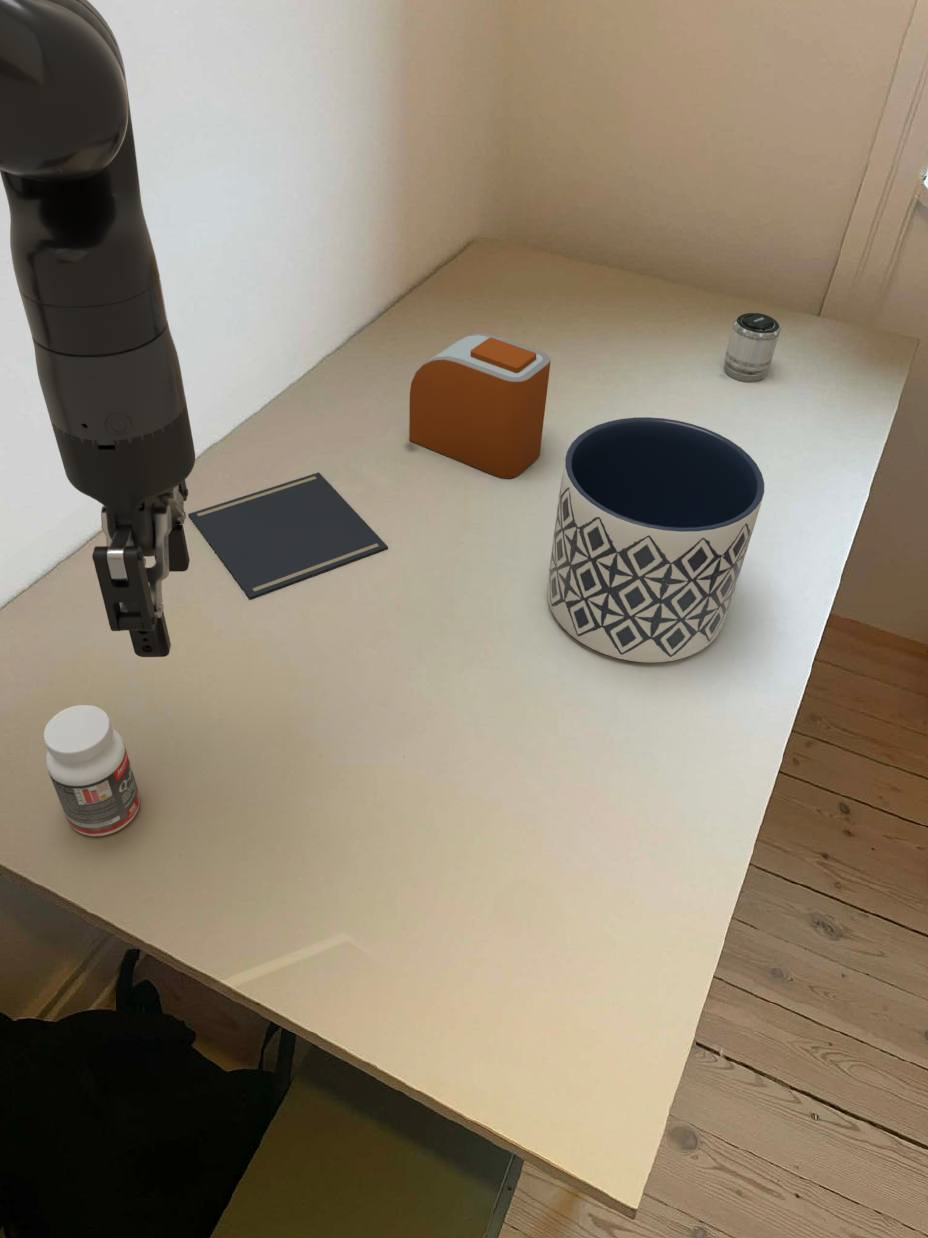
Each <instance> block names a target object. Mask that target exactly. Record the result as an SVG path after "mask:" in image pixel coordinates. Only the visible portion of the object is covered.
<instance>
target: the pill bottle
mask: <svg viewBox="0 0 928 1238" xmlns="http://www.w3.org/2000/svg"><path fill="white" fill-rule="evenodd" d="M43 740H44V743H45V746H46V748H47V751H46V756H45V764H46V769H47V773H48V775H49V778H50V780H51V782H52V785H53V787H54V791H55V793H56V795H57V797H58V800H59V803H60V806H61V807H62V810H63V813H64V815H65V818H66V820H67V822H68V825H70V827H71V828H72V829H73V830H75V832H77V833H80V834H82V835H84V836H90V837H103V836H107V835H108V836H109V835H111V834H114V833H116V832H118V831H120V830H121V829H123V828H124V827H126V826H127V825H129V824H130V822H132V821H133V819H134V818H135V817H136V815H137V813H138V811H139V808H140V804H141V797H140V796H141V795H140V791H139V788H138V784H137V781H136V777H135V775H134V772H133V767H132V765H131V762H130V759H129V755H128V751H127V749H126V745H125V742H124V739H123V738H122V736H121V735H120V734H119V733H118V731H116V730H115V729H114V728H113V725H112V723H111V720H110V718H109V716H108V714H107V712H106V711H104V710H103V709H102V708H100V707H97V706H95V705H91V704H79V705H73V706H70V707H67V708H65V709H63V710H61V711H59V712H58V713H56V714H55V715H54V716H52V717H51V718H50V720H49V721H48V722H47V724H46V725H45V728H44V731H43Z"/></svg>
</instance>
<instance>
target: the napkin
mask: <svg viewBox="0 0 928 1238" xmlns="http://www.w3.org/2000/svg"><path fill="white" fill-rule="evenodd" d="M187 515H188V518H189V519H190V520H191V521H192V523H193V524H194V526H195V527H196V528H197V530H198V531H199V533H200V534H201V535H202V537H203V538H204V539H205V541H206V542H207V543H208V545H209V546H210V547H211V549H212V550H213V551H214V553H215V554H216V556H217V557H218V558H219V560H220V561H221V562H222V564H223V565H224V566H225V568H226V569H227V571H228V572H229V573H230V575H231V576H232V577H233V579H234V580H235V582H236V583H237V584H238V586H239V587H240V589H241V590H242V591H243V592H244V594H245V596H246V597H247V598H248V599H249V600H253V599H255V598H258V597H260V596H263V595H267V594H269V593H272V592H274V591H277V590H280V589H282V588H286V587H288V586H290V585H294V584H296V583H299V582H302V581H304V580H307V579H310V578H313V577H316V576H318V575H320V574H323V573H326V572H329V571H331V570H334V569H337V568H340V567H343V566H345V565H348V564H350V563H353V562H357V561H358V560H361V559H364V558H367V557H370V556H372V555H375V554H377V553H380V552H384V551H386V550H388V549H389V546H388V545H387V544H386V542H384V541H383V540H382V538H381V537H380V536H379V535H378V534H377V533H376V531H374V529H372V528H371V526H369V525H368V523H367V522H366V521H365V520H364V519H363V518H362V517H361V516H360V514H358V513H357V512H356V511H355V509H354V508H353V507H352V506H351V505H350V504H349V503H348V501H346V500H345V498H343V496H342V495H341V494H340V493H339V492H338V491H337V490H336V489H335V488H334V487H333V486H332V485H331V484H330V483H329V481H328V480H327V479H326V478H325V477H324V476H323V475H322V473H320V472H316V473H312V474H309V475H306V476H303V477H300V478H296V479H294V480H291V481H286V482H284V483H280V484H278V485H274V486H271V487H269V488H265V489H262V490H260V491H256V492H252V493H250V494H246V495H243V496H240V497H236V498H234V499H230V500H227V501H223V502H221V503H218V504H214V505H212V506H209V507H205V508H202V509H199V510H196V511H192V512H189V513H188V514H187Z"/></svg>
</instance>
